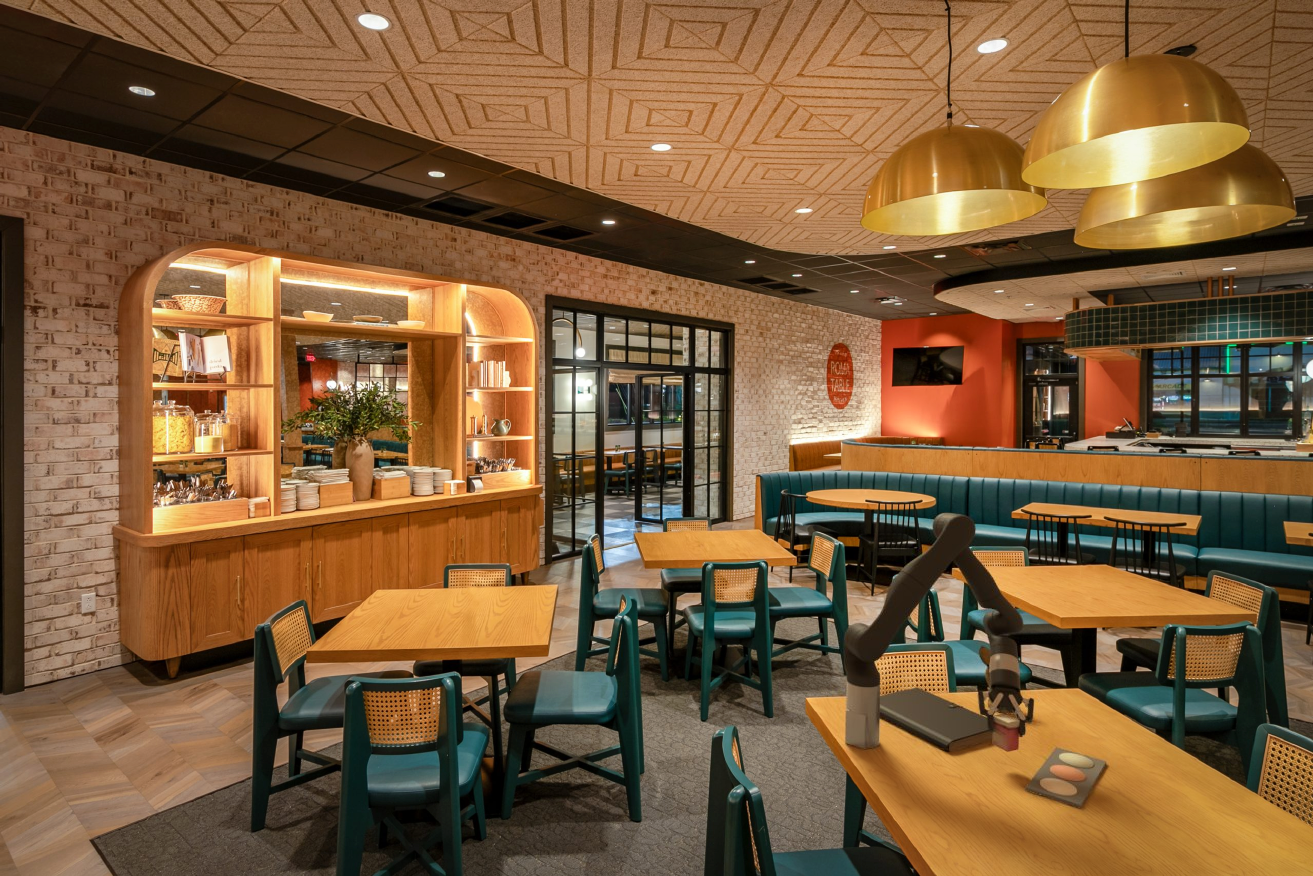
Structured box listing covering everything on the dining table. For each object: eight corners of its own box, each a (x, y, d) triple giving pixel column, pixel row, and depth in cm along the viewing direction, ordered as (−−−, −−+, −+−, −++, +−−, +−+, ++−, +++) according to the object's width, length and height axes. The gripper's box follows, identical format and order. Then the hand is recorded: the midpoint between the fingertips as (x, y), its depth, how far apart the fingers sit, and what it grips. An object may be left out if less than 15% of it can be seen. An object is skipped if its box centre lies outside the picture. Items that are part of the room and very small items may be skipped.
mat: (1080, 808, 166) (1080, 803, 166) (1025, 790, 174) (1025, 785, 174) (1106, 764, 188) (1106, 760, 188) (1056, 750, 196) (1056, 746, 196)
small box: (991, 744, 187) (992, 715, 186) (1003, 741, 188) (1003, 712, 188) (1007, 752, 182) (1008, 722, 182) (1019, 750, 184) (1020, 720, 184)
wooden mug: (989, 696, 235) (990, 643, 235) (1025, 711, 223) (1026, 655, 222) (970, 700, 231) (971, 646, 231) (1006, 716, 219) (1006, 659, 219)
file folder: (1005, 724, 204) (946, 741, 194) (1005, 738, 204) (946, 755, 194) (917, 686, 234) (862, 699, 223) (917, 698, 234) (862, 711, 223)
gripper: (976, 664, 194) (977, 722, 184) (1035, 672, 189) (1039, 732, 178) (975, 676, 199) (975, 734, 189) (1032, 685, 194) (1035, 744, 183)
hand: (1006, 733), depth 184 cm, fingers closed on small box, 6 cm apart
